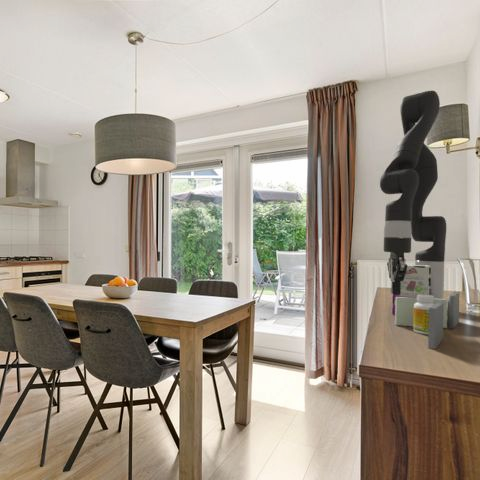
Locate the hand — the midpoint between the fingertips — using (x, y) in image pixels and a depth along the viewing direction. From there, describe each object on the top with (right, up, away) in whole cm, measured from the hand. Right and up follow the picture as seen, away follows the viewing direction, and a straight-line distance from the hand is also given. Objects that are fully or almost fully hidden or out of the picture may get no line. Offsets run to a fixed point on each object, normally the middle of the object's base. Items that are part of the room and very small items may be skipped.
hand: (395, 294), depth 105 cm
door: (+4, -8, -6) cm, 11 cm away
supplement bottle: (+2, -8, -12) cm, 15 cm away
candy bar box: (+9, -8, +9) cm, 15 cm away
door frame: (+7, -8, -13) cm, 17 cm away
